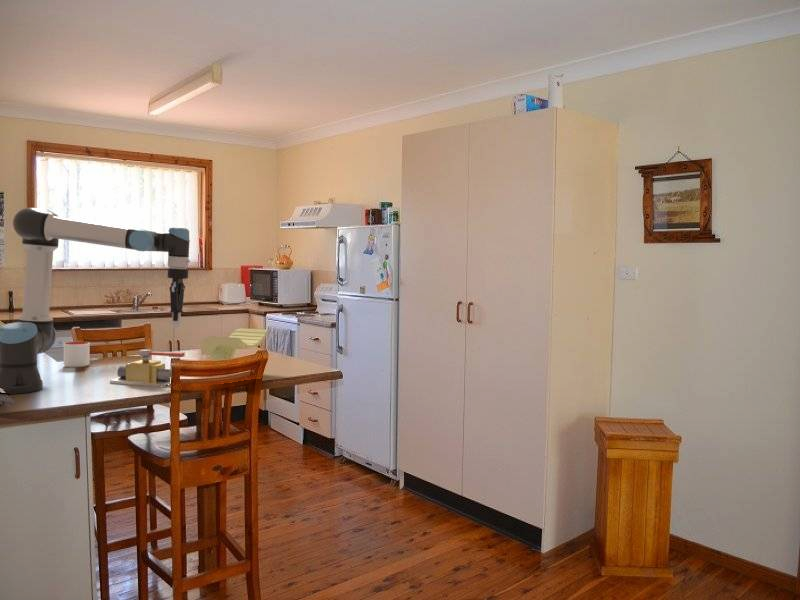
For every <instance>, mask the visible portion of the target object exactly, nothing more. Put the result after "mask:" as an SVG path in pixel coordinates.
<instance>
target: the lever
mask: <svg viewBox="0 0 800 600" xmlns="http://www.w3.org/2000/svg"><path fill="white" fill-rule="evenodd" d="M139 356H141V357H142V356H149V357H150V356H159V357H160V356H163V357H170V358H183V357H185V352H181V351H169V352H166V351H153V350H152V349H140V350H139Z"/></svg>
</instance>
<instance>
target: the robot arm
mask: <svg viewBox="0 0 800 600" xmlns="http://www.w3.org/2000/svg"><path fill="white" fill-rule="evenodd" d="M12 227H13V229H14V232H15V233H16V234H17V235H18V236H19V237H21V238H22V240H21V241H22V242H21V244H22V246H23V247H24V248H25V250H26V255H25V257H26V258H25V271H24V272H25V273H24V284H23V285H24V287H23V300H22V301H23V302H22V303H23V304H22V313H21V315H19V316H18V317H17V321H16V322H10V323H6V324H2V325H1V326H0V388H2V389H4V391H5V392H6V393H7V394H6V395H15V394H25V393H32V392H38V391H40V390H43V387H44V383H43V379H42V378H41V375H40V371H39V369H38V355H39V354H40V355H41V354H43V353H45V352H47V351H48V350H50V349H51V348H52V347H53V345H55V343H56V340H57V331H56V329H55V327H54V318H53V317H51V316H50V305H51V303H50V302H51V288H52V277H53V276H52V274H53V260H54V251H55V250H57V249H58V248H59V240H62V241H63V240H65V241H71V242H79V243H85V244H91V245H98V246H99V245H101V246H106V247H114V248H119V249H120V248H121V249H126V250H127V249H128V250H135V251H138V252H158V253H159V252H163V253H167V267H168V268H167V278H168V279H172V280H171V283H170V286H169V295H170V296H169V297H170V298H169V299H170V300H169V301H170V311H169V312H170V313H172V314H171V316H172V318H171V321H172V322H171V330H178V331H179V330H181V313H184V310H183V309H184V308H183V307H184V299H185V298H184V296H185V290H186V286H185V283H184V280H187V279H188V278H189V269H187V268H189V263H191V260H190V259H189V257H190V243H191V242H190V241H191V240H190V230H189V229H188V228H185V227H169V228H168V231H165V232H164V231H162V232H161V231H151V230H147V229H140V228H131V227H125V226H118V225H112V224H105V223H97V222H92V221H86V220H79V219H74V218H73V219H72V218H67V217H66V218H65V217H60V216H59V215H58V214H56V213H55V212H53V211H51V210H48V209H42V208H37V207H25V208H22V209H21V210H19V211H17V212H16V214H15V215H14V217H13V220H12Z"/></svg>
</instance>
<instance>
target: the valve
mask: <svg viewBox="0 0 800 600" xmlns="http://www.w3.org/2000/svg"><path fill="white" fill-rule="evenodd" d="M171 370H172V369H170V368H168V369H167V368H166V363H164V362H163V363H162V360H155V359H154V360H153V359H150V356H141V359H139V360H135V361H131V362H128V363H126V364H125V366H123V365H120V366H119V367H118V369H117V376H118V377H116V378H113V379H109V384H112V385H113V384H114V385H115V384H116V385H126V384H127V385H128V386H129V385H130V386H140V385H143V386H142V387H153V386H162V387H161V388H164V387H163V386H165V387H167V386H166V385H168V384H170V377H171ZM127 385H126V386H127ZM168 386H169V385H168Z"/></svg>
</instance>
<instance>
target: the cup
mask: <svg viewBox="0 0 800 600" xmlns="http://www.w3.org/2000/svg"><path fill="white" fill-rule="evenodd" d="M90 345H91V343H90V342H89V341H68V342H67V341H66V342H64V343H63V366H64V367H66V368H84V367H87V366H89V365H90V362H91V359H90V358H91V356H90V355H91V354H90V347H91V346H90Z"/></svg>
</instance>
